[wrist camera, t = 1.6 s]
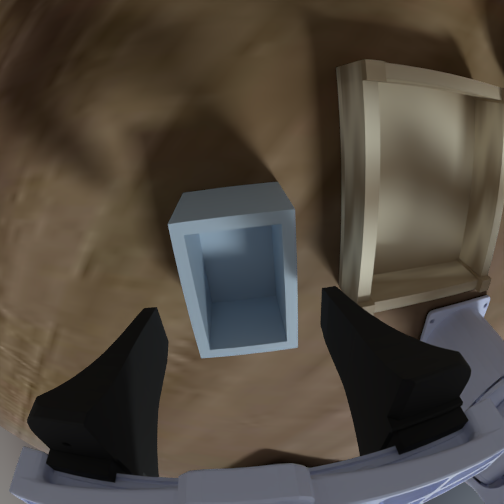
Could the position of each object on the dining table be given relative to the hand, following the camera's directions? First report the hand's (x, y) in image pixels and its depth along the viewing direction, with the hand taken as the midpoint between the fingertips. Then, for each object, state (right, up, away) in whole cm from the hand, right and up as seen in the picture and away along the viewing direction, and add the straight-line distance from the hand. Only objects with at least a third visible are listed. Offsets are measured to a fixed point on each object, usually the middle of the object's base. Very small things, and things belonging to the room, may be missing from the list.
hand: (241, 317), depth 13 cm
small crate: (0, +3, +6) cm, 7 cm away
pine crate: (+11, +7, +4) cm, 14 cm away
